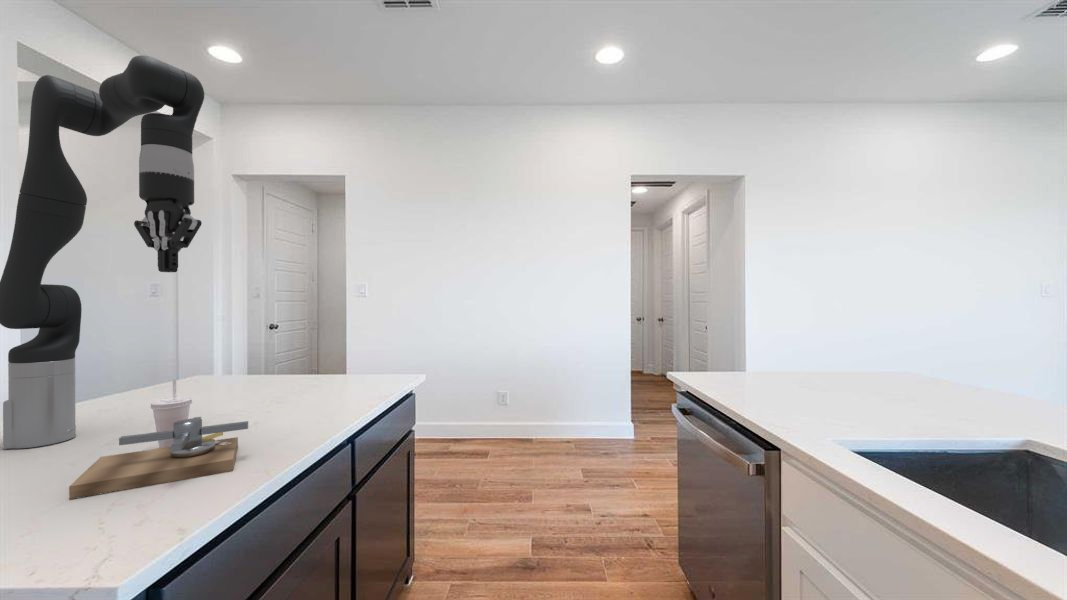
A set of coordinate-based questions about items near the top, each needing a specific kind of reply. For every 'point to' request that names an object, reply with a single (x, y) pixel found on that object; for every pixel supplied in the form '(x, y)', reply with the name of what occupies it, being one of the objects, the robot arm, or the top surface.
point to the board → (152, 468)
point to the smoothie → (170, 413)
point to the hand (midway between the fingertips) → (167, 271)
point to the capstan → (187, 436)
